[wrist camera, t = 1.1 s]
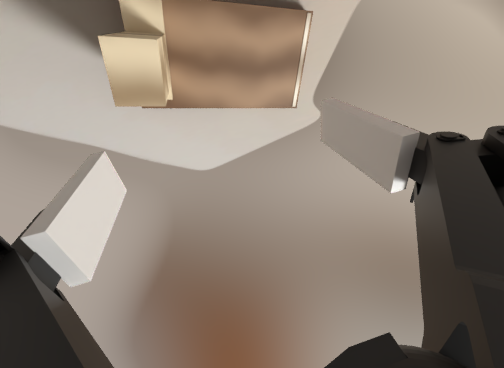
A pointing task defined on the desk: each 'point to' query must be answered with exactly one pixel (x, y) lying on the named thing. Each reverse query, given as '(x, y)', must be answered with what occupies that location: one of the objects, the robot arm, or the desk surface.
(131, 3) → the bracket
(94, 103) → the desk surface
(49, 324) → the robot arm
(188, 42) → the board
